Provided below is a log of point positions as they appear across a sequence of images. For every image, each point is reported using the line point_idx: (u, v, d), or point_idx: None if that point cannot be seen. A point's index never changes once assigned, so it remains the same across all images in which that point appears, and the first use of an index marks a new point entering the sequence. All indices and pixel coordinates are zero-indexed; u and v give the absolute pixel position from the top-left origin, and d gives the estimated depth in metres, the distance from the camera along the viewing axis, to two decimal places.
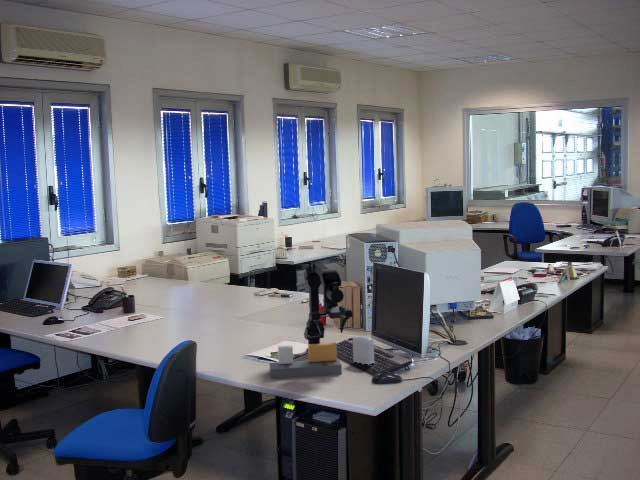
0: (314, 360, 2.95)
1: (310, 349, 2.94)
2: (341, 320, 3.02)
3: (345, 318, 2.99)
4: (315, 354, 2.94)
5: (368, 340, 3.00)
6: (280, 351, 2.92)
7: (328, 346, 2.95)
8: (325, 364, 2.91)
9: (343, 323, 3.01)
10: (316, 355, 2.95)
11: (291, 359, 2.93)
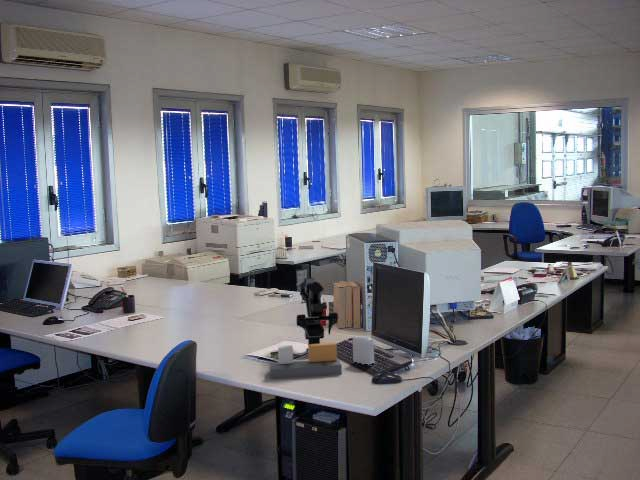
0: (314, 360, 2.95)
1: (310, 349, 2.94)
2: (328, 324, 3.10)
3: (330, 317, 3.09)
4: (315, 354, 2.94)
5: (368, 340, 3.00)
6: (280, 351, 2.92)
7: (328, 346, 2.95)
8: (325, 364, 2.91)
9: (329, 324, 3.08)
10: (316, 355, 2.95)
11: (291, 359, 2.93)
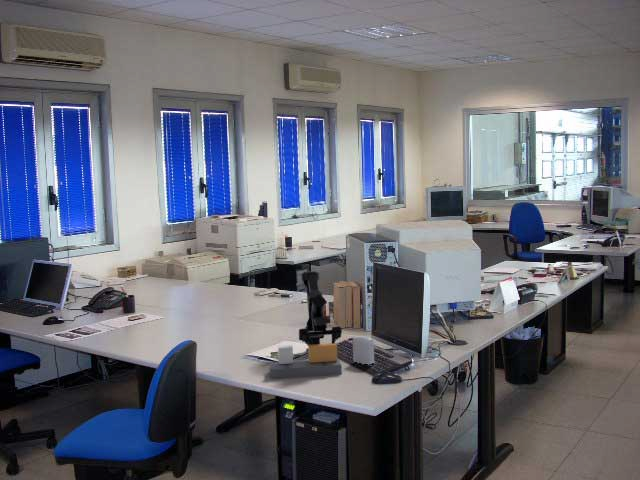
0: (314, 361, 2.94)
1: (310, 350, 2.93)
2: None
3: (334, 331, 3.00)
4: (315, 354, 2.93)
5: (368, 340, 3.00)
6: (280, 351, 2.92)
7: (328, 347, 2.94)
8: (325, 364, 2.91)
9: (333, 338, 2.99)
10: (317, 356, 2.93)
11: (291, 359, 2.93)
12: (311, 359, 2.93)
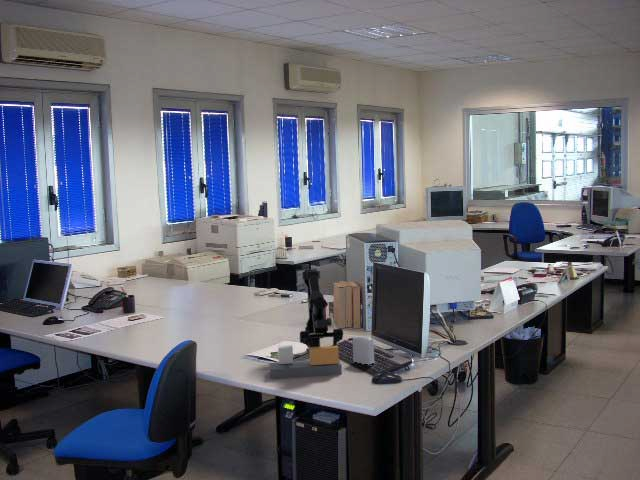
0: (315, 363, 2.90)
1: (311, 352, 2.89)
2: (333, 341, 2.97)
3: (335, 334, 2.96)
4: (317, 357, 2.89)
5: (368, 340, 3.00)
6: (280, 351, 2.92)
7: (330, 349, 2.90)
8: (325, 364, 2.91)
9: (334, 341, 2.95)
10: (318, 358, 2.90)
11: (291, 359, 2.93)
12: (312, 362, 2.89)
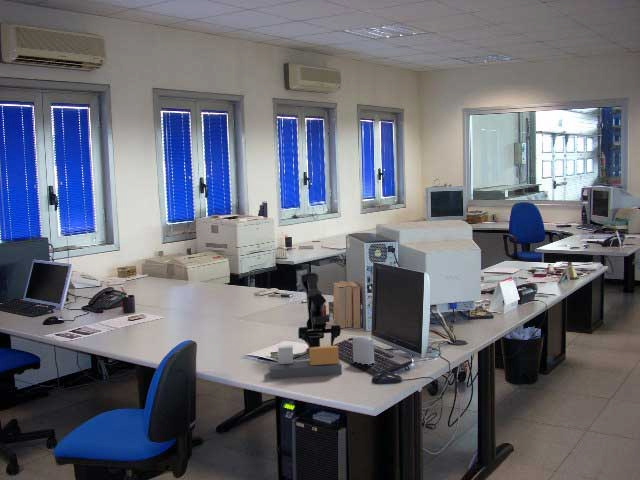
0: (315, 363, 2.90)
1: (311, 352, 2.89)
2: None
3: (333, 330, 3.02)
4: (317, 357, 2.89)
5: (368, 340, 3.00)
6: (280, 351, 2.92)
7: (330, 349, 2.90)
8: (325, 364, 2.91)
9: (332, 337, 3.02)
10: (318, 359, 2.90)
11: (291, 359, 2.93)
12: (312, 362, 2.89)
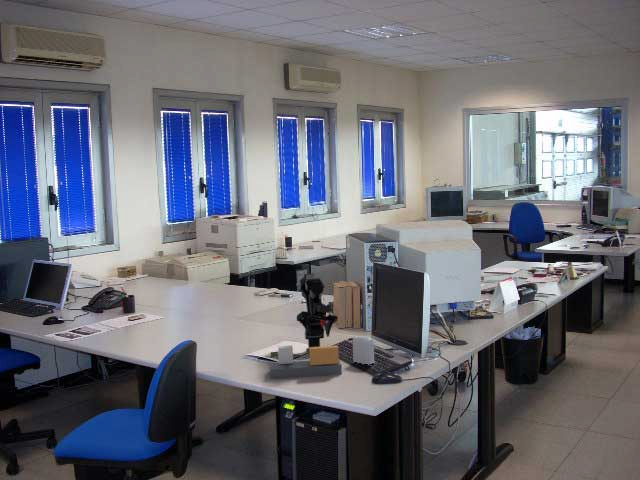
0: (315, 363, 2.90)
1: (311, 352, 2.89)
2: (327, 325, 3.13)
3: (331, 320, 3.12)
4: (317, 357, 2.89)
5: (368, 340, 3.00)
6: (280, 351, 2.92)
7: (330, 349, 2.90)
8: (325, 364, 2.91)
9: (329, 326, 3.12)
10: (318, 359, 2.90)
11: (291, 359, 2.93)
12: (312, 362, 2.89)
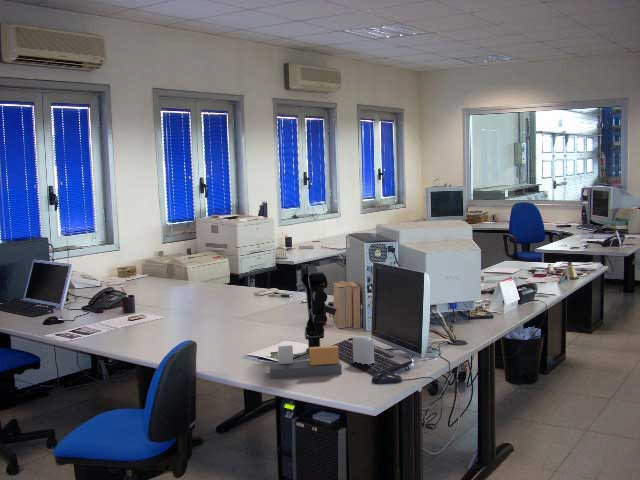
0: (315, 363, 2.90)
1: (311, 352, 2.89)
2: None
3: None
4: (317, 357, 2.89)
5: (368, 340, 3.00)
6: (280, 351, 2.92)
7: (330, 349, 2.90)
8: (325, 364, 2.91)
9: None
10: (318, 359, 2.90)
11: (291, 359, 2.93)
12: (312, 362, 2.89)
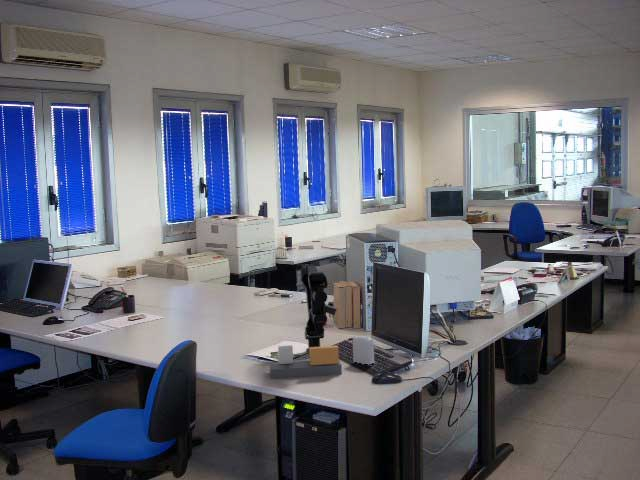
0: (315, 363, 2.90)
1: (311, 352, 2.89)
2: None
3: None
4: (317, 357, 2.89)
5: (368, 340, 3.00)
6: (280, 351, 2.92)
7: (330, 349, 2.90)
8: (325, 364, 2.91)
9: None
10: (318, 359, 2.90)
11: (291, 359, 2.93)
12: (312, 362, 2.89)
